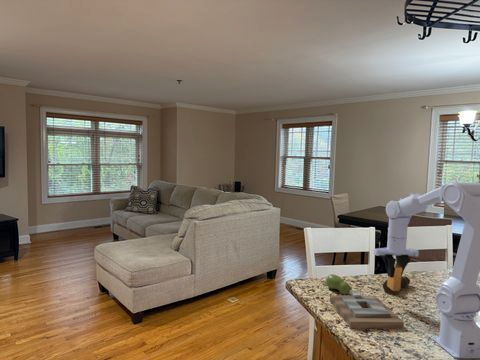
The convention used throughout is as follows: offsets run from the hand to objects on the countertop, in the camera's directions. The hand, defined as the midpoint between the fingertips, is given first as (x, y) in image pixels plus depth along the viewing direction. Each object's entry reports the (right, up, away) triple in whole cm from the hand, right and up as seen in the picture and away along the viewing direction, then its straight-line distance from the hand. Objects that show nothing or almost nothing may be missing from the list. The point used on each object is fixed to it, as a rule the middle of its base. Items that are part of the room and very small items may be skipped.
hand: (394, 276), depth 110 cm
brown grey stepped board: (-13, -10, -6) cm, 17 cm away
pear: (-15, -9, +12) cm, 22 cm away
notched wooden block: (0, -4, 0) cm, 4 cm away
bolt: (+9, -10, +15) cm, 20 cm away
